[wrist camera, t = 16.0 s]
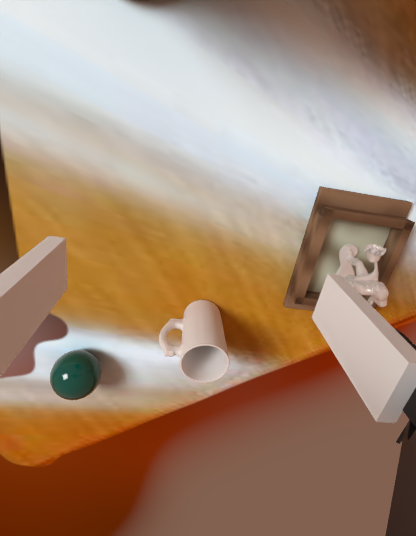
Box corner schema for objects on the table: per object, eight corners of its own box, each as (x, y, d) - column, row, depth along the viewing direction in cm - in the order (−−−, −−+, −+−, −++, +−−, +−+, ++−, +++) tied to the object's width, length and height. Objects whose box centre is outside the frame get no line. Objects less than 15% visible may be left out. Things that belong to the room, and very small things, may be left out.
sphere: (90, 381, 58) (76, 418, 51) (52, 360, 56) (31, 395, 48) (115, 355, 56) (104, 390, 49) (76, 332, 53) (58, 365, 46)
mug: (225, 301, 52) (234, 347, 41) (217, 333, 55) (223, 385, 44) (165, 292, 51) (158, 338, 40) (160, 325, 54) (152, 377, 43)
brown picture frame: (319, 186, 45) (329, 191, 41) (408, 201, 46) (424, 207, 43) (283, 304, 53) (288, 315, 50) (359, 313, 54) (369, 325, 51)
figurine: (332, 287, 51) (371, 332, 40) (326, 236, 47) (367, 270, 36) (361, 280, 50) (408, 323, 39) (358, 228, 46) (409, 259, 35)
